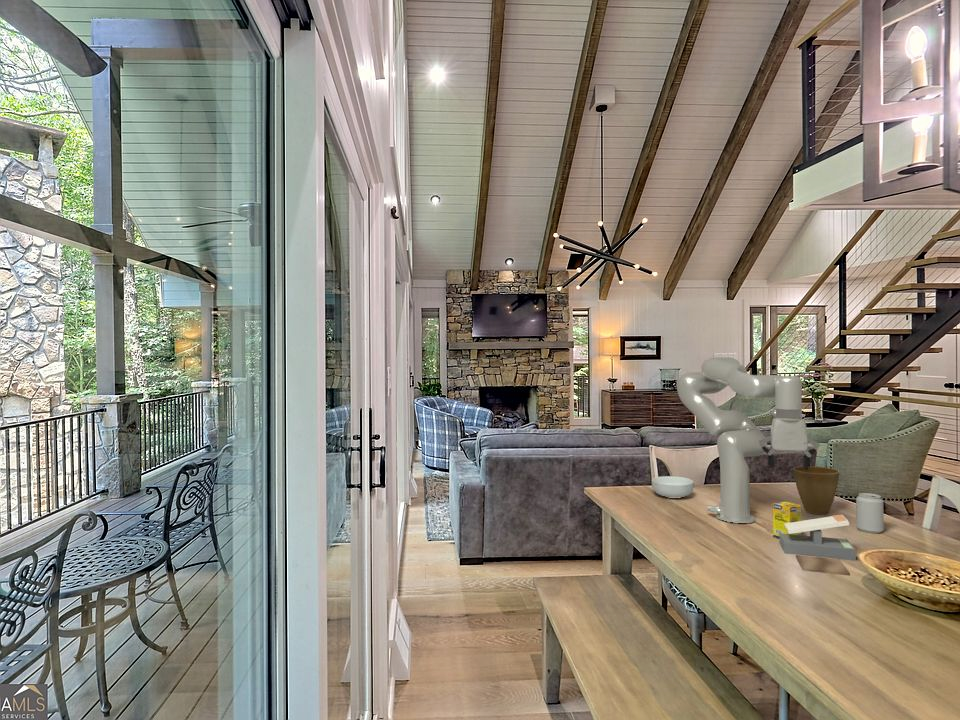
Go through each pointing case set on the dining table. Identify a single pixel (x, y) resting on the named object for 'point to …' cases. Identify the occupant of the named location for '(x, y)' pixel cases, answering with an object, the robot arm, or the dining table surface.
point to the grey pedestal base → (817, 545)
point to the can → (869, 513)
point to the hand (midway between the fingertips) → (788, 468)
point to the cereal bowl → (672, 486)
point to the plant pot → (816, 488)
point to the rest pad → (822, 565)
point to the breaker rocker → (816, 524)
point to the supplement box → (785, 517)
